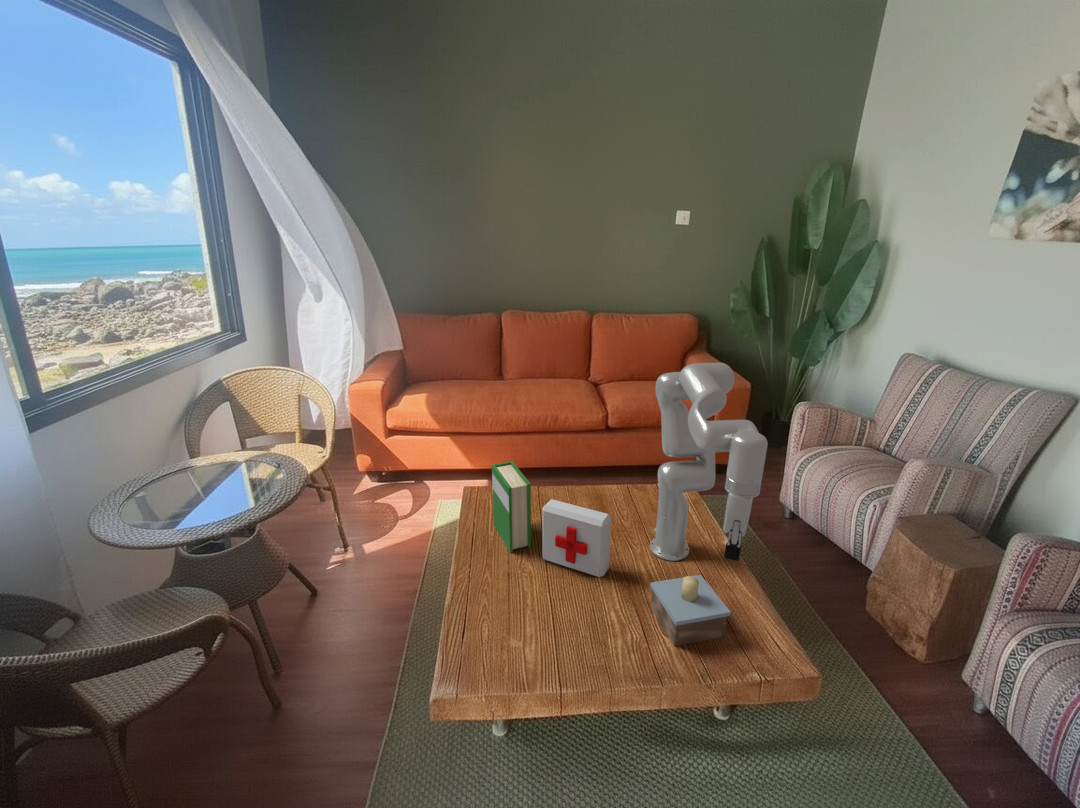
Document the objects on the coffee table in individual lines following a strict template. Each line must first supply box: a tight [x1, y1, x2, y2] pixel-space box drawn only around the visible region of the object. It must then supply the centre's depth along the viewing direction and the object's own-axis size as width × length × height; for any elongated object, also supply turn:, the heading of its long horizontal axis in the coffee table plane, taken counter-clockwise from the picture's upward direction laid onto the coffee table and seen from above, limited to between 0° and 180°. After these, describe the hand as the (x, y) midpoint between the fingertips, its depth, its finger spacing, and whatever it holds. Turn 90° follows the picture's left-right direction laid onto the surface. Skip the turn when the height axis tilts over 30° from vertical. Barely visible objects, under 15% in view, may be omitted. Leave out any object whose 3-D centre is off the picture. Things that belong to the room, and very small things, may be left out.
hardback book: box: [491, 460, 532, 554], centre depth 173 cm, size 18×7×24 cm, turn 22°
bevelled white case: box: [541, 498, 612, 578], centre depth 158 cm, size 21×8×20 cm, turn 62°
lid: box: [649, 574, 732, 626], centre depth 134 cm, size 15×15×6 cm
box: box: [650, 589, 728, 647], centre depth 136 cm, size 14×14×8 cm
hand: (733, 547), depth 123 cm, fingers open, 9 cm apart
